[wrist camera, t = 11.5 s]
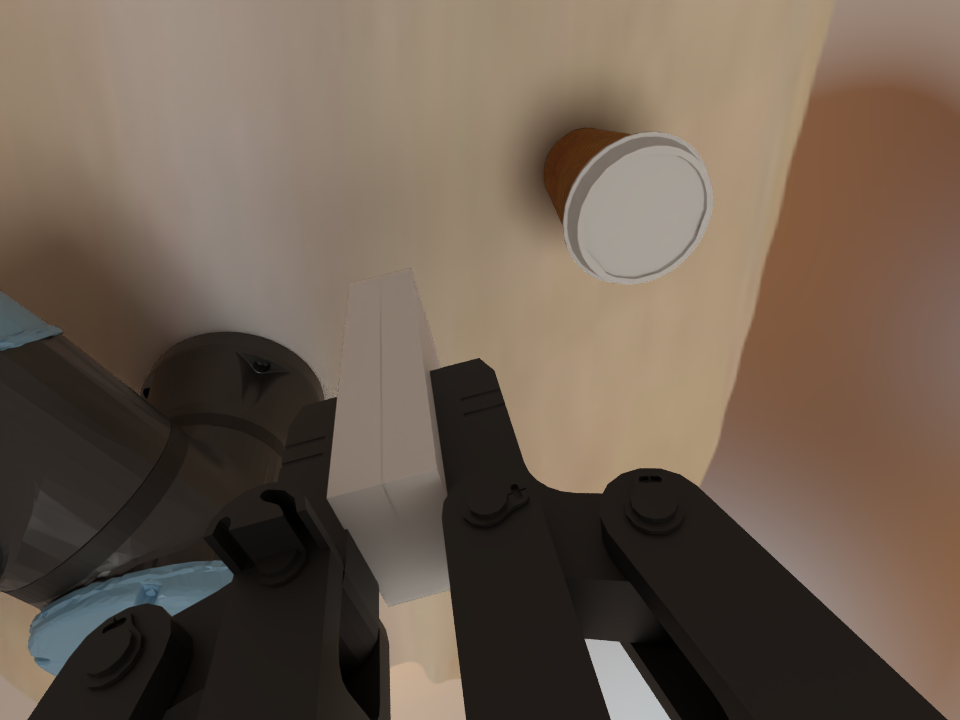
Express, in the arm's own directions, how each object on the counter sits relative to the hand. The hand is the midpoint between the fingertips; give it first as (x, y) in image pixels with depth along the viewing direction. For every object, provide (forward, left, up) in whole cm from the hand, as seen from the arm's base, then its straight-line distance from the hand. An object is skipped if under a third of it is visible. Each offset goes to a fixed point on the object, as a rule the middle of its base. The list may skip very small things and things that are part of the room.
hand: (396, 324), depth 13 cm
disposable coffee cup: (+14, -7, -30) cm, 33 cm away
